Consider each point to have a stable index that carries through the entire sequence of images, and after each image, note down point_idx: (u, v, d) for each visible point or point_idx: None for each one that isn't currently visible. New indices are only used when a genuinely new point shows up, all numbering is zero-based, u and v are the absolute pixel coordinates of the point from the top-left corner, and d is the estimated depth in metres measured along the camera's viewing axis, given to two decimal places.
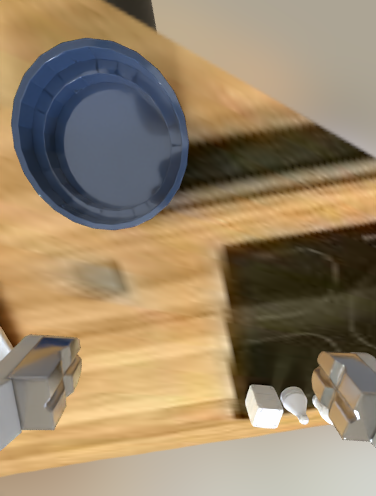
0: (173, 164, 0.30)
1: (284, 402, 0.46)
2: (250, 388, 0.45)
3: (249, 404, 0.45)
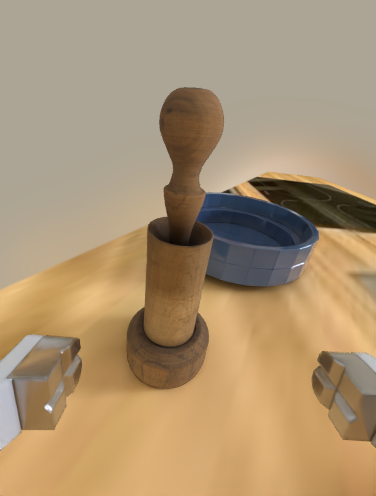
0: (245, 212, 0.41)
1: None
2: None
3: None
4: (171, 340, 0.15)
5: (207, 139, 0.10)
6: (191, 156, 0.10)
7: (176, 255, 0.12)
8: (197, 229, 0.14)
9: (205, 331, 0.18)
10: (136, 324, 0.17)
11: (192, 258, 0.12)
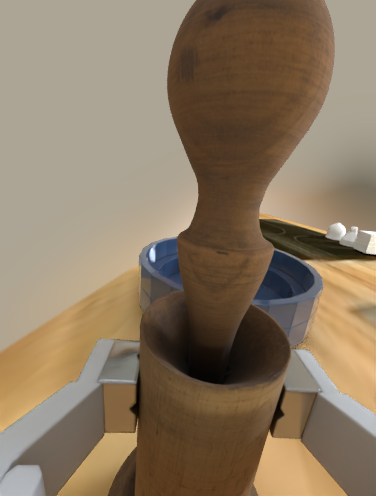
0: None
1: None
2: (368, 251, 0.56)
3: None
4: None
5: (314, 105, 0.04)
6: (266, 154, 0.04)
7: (236, 411, 0.04)
8: None
9: (252, 491, 0.09)
10: None
11: (269, 403, 0.05)
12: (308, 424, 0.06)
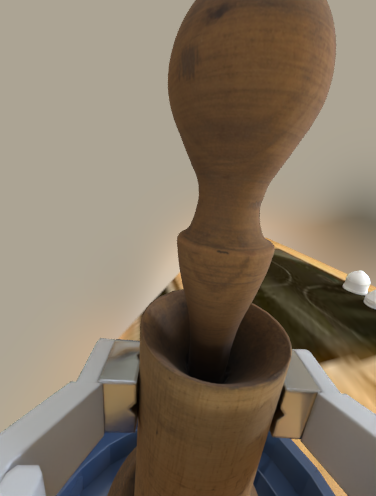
0: None
1: None
2: None
3: None
4: None
5: (316, 103, 0.04)
6: (267, 153, 0.04)
7: (236, 410, 0.04)
8: None
9: (252, 491, 0.09)
10: None
11: (270, 403, 0.05)
12: (308, 424, 0.06)
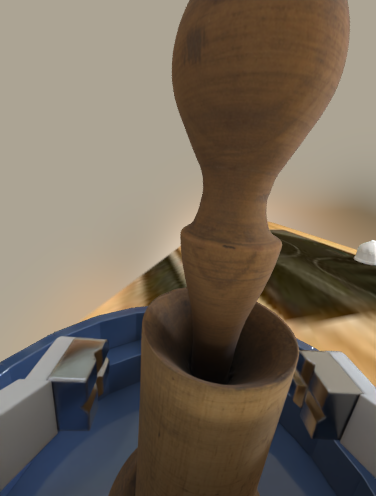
0: None
1: None
2: None
3: None
4: None
5: (328, 89, 0.03)
6: (276, 142, 0.04)
7: (242, 412, 0.04)
8: None
9: (255, 494, 0.09)
10: None
11: (277, 405, 0.05)
12: (349, 426, 0.06)
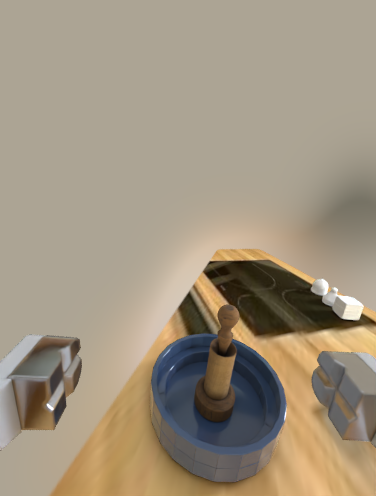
0: None
1: None
2: (344, 317, 0.65)
3: (354, 314, 0.64)
4: (222, 396, 0.34)
5: None
6: (230, 327, 0.31)
7: (227, 360, 0.32)
8: None
9: (232, 387, 0.37)
10: (201, 392, 0.35)
11: (232, 360, 0.32)
12: None
